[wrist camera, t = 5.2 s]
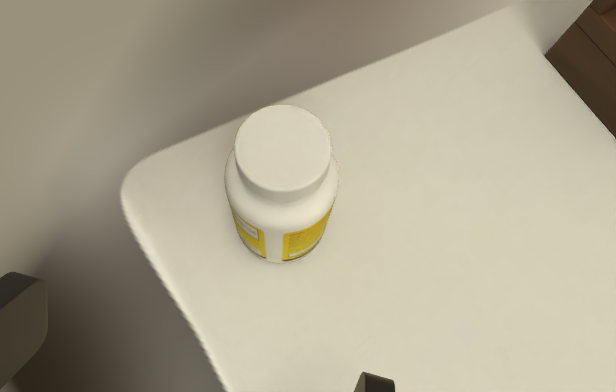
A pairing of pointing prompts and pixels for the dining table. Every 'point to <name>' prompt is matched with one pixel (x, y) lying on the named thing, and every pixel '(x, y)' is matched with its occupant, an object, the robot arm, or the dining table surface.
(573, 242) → the dining table surface
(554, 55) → the shelf
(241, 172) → the supplement bottle
